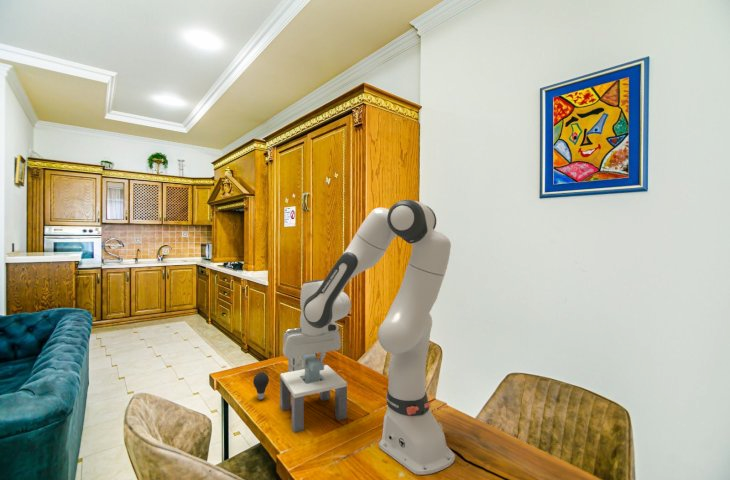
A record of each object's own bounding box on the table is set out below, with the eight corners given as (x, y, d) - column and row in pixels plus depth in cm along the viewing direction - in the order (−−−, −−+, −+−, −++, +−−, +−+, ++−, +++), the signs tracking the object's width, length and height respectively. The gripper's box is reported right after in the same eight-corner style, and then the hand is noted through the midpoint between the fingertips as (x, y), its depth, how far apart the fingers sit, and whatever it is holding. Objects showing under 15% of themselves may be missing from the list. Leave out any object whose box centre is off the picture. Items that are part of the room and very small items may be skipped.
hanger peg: (323, 393, 110) (324, 363, 110) (312, 396, 108) (312, 365, 108) (311, 379, 121) (312, 352, 121) (301, 382, 119) (301, 354, 119)
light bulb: (264, 403, 120) (264, 376, 120) (250, 402, 121) (250, 375, 121) (271, 396, 126) (271, 370, 126) (258, 395, 127) (258, 369, 127)
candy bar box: (310, 378, 143) (311, 340, 143) (317, 381, 139) (317, 343, 139) (287, 385, 135) (287, 345, 135) (293, 389, 132) (293, 348, 132)
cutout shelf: (346, 418, 110) (346, 382, 110) (294, 432, 102) (294, 394, 102) (326, 396, 126) (327, 364, 126) (280, 406, 118) (280, 373, 118)
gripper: (285, 332, 107) (285, 374, 107) (342, 325, 116) (342, 364, 116) (280, 327, 112) (280, 367, 112) (335, 321, 122) (335, 358, 122)
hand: (312, 365), depth 114 cm, fingers closed on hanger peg, 4 cm apart
